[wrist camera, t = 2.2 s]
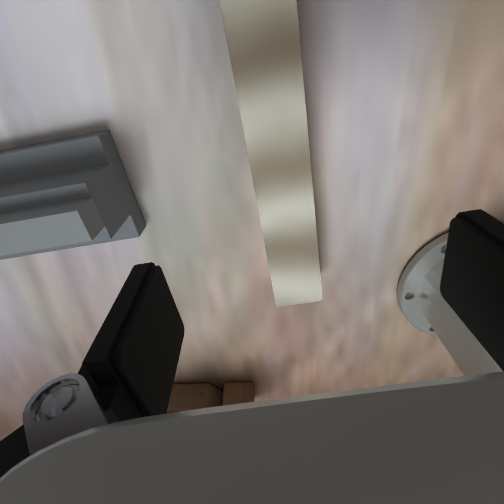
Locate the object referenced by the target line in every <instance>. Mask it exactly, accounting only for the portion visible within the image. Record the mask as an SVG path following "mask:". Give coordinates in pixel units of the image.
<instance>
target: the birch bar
mask: <svg viewBox="0 0 504 504" xmlns="http://www.w3.org/2000/svg"><path fill="white" fill-rule="evenodd" d="M220 5H221V11H222V16H223V21H224V27H225V32H226V38H227V43H228V48H229V54H230V59H231V65H232V70H233V75H234V81H235V86H236V92H237V97H238V102H239V108H240V113H241V119H242V124H243V129H244V135H245V140H246V146H247V151H248V156H249V162H250V167H251V173H252V178H253V183H254V189H255V194H256V200H257V205H258V211H259V216H260V221H261V227H262V232H263V238H264V243H265V248H266V254H267V259H268V265H269V270H270V275H271V281H272V286H273V292H274V297H275V302H276V307H280V306H287V305H294V304H301V303H309V302H316V301H323V299H322V288H321V276H320V265H319V253H318V242H317V230H316V219H315V207H314V196H313V184H312V172H311V161H310V149H309V138H308V126H307V115H306V103H305V92H304V80H303V69H302V57H301V46H300V34H299V23H298V11H297V0H220Z"/></svg>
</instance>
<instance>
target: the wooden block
mask: <svg viewBox="0 0 504 504" xmlns="http://www.w3.org/2000/svg"><path fill="white" fill-rule="evenodd" d="M248 402H254V384H253V383H252V382H226V383H225V384H224V390H223V391H221V390H220V389H218V388H216V387H214V386H213V385H211V384H209V383H192V384H173V387H172V391H171V396H170V400H169V405H168V409H167V413H174V412H181V411H188V410H195V409H202V408H209V407H217V406H225V405H233V404H240V403H248Z"/></svg>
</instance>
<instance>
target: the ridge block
mask: <svg viewBox="0 0 504 504" xmlns="http://www.w3.org/2000/svg"><path fill="white" fill-rule="evenodd" d="M145 227H146V224H145V222H144V219H143V216H142V214H141V211H140V209H139V206H138V203H137V201H136V198H135V196H134V193H133V191H132V188H131V185H130V183H129V180H128V178H127V175H126V173H125V170H124V167H123V165H122V162H121V160H120V157H119V155H118V152H117V149H116V147H115V144H114V142H113V139H112V137H111V134H110V131H109V130H107V131H102V132H97V133H91V134H86V135H81V136H76V137H71V138H66V139H61V140H56V141H51V142H46V143H40V144H35V145H30V146H25V147H20V148H15V149H10V150H5V151H0V260H1V259H7V258H13V257H19V256H25V255H31V254H37V253H43V252H50V251H56V250H62V249H68V248H74V247H80V246H86V245H92V244H98V243H104V242H110V241H117V240H123V239H129V238H135V237H139V236H140V235H141V233H142V232H143V230H144V228H145Z"/></svg>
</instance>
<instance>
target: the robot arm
mask: <svg viewBox="0 0 504 504" xmlns="http://www.w3.org/2000/svg"><path fill="white" fill-rule="evenodd" d="M397 298H398V304H399V306H400V309H401V311H402V313H403V314H404V316H405V317H406V319H407V320H408V321H409V322H410V323H411V324H412V325H413V326H414V327H416V328H418V329H419V330H421V331H423V332H426V333H429V334H434V335H437V336H438V337H439V339H440V340H441V342H442V343H443V345H444V346H445V347H446V349H447V350H448V352H449V353H450V355H451V356H452V358H453V359H454V361H455V362H456V364H457V365H458V367H459V368H460V370H461V371H462V373H463V374H464V376H459V377H450V378H442V379H433V380H425V381H416V382H408V383H400V384H392V385H384V386H375V387H367V388H359V389H351V390H343V391H335V392H327V393H319V394H311V395H303V396H295V397H287V398H279V399H271V400H264V401H256V402H248V403H240V404H233V405H225V406H217V407H209V408H202V409H195V410H188V411H181V412H174V413H167V409H168V405H169V400H170V396H171V391H172V387H173V382H174V378H175V373H176V369H177V364H178V360H179V355H180V351H181V346H182V342H183V337H184V325H183V322H182V319H181V317H180V314H179V312H178V309H177V307H176V304H175V302H174V299H173V297H172V294H171V292H170V289H169V287H168V284H167V282H166V279H165V277H164V274H163V272H162V269H161V267H160V266H155V264H154V263H152V262H151V263H144V264H138V265H135V266H134V267H133V268H132V270H131V272H130V274H129V276H128V278H127V280H126V282H125V283H124V285H123V287H122V289H121V291H120V293H119V295H118V297H117V298H116V300H115V302H114V304H113V306H112V308H111V310H110V312H109V313H108V315H107V317H106V319H105V321H104V323H103V325H102V327H101V328H100V330H99V332H98V334H97V336H96V338H95V340H94V342H93V343H92V345H91V347H90V349H89V351H88V353H87V355H86V357H85V358H84V360H83V362H82V366H81V368H80V370H79V372H78V374H76V373H71V374H65V375H62V376H59V377H57V378H55V379H53V380H51V381H49V382H48V383H46V384H45V385H44V386H42V387H41V388H40V389H39V390H38V391H37V392H36V393H35V394H34V395H33V396H32V397H31V398H30V400H29V401H28V403H27V404H26V406H25V409H24V411H23V425H22V426H21V427H19V428H18V429H17V430H15V431H14V432H13V433H11V434H10V435H8V436H7V437H6V438H4V439H3V440H1V441H0V504H504V224H503V223H502V222H500V221H499V220H497V219H495V218H494V217H492V216H491V215H489V214H488V213H486V212H485V211H483V210H481V209H478V210H472V211H465V212H460V213H458V214H457V215H456V217H455V218H453V219H452V220H451V222H450V227H449V232H448V233H446V234H444V235H442V236H440V237H438V238H437V239H435V240H434V241H432V242H431V243H429V244H428V245H426V246H425V247H424V248H423V249H422V250H421V251H419V252H418V253H417V254H416V255H415V256H414V258H413V259H412V260H411V261H410V262H409V263H408V265H407V267H406V268H405V270H404V272H403V273H402V275H401V278H400V281H399V284H398V290H397Z"/></svg>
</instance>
